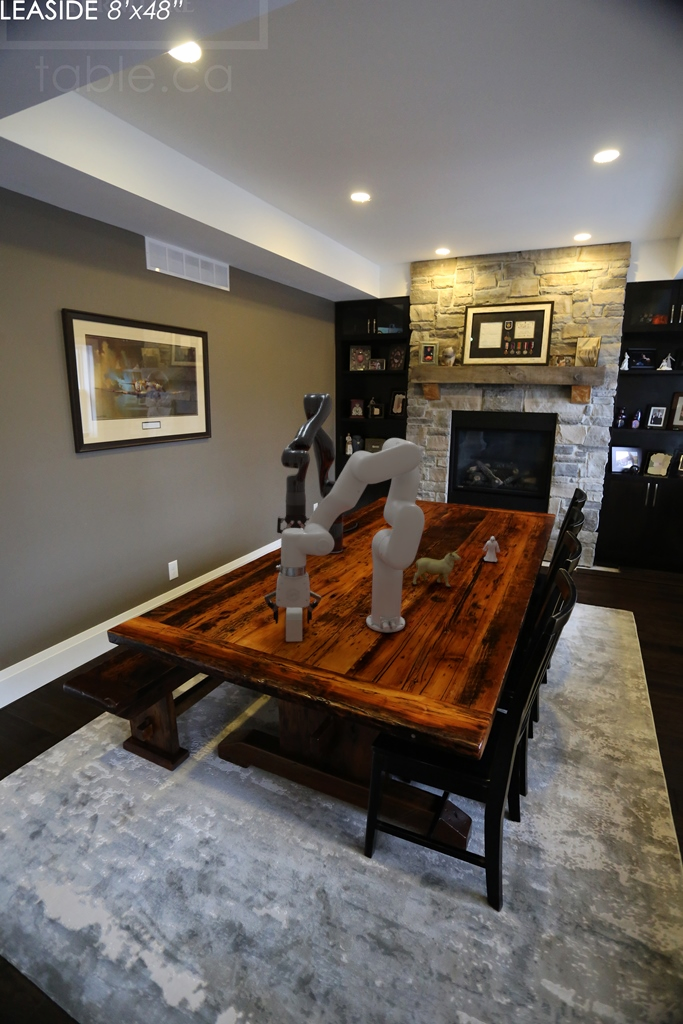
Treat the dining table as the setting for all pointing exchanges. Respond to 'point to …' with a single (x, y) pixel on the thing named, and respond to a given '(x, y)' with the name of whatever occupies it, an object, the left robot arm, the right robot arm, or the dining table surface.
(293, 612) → the bar
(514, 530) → the dining table surface
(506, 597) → the dining table surface
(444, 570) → the toy
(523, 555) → the dining table surface
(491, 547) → the figurine
